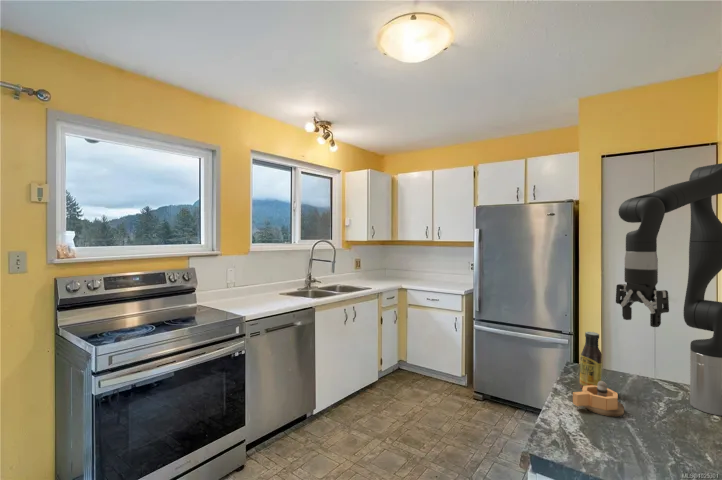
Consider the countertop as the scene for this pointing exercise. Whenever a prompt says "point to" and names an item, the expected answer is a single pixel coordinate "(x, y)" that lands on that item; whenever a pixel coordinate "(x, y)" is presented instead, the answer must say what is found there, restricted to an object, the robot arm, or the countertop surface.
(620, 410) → the round wooden base
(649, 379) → the countertop surface
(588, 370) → the sauce bottle
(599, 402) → the ring
